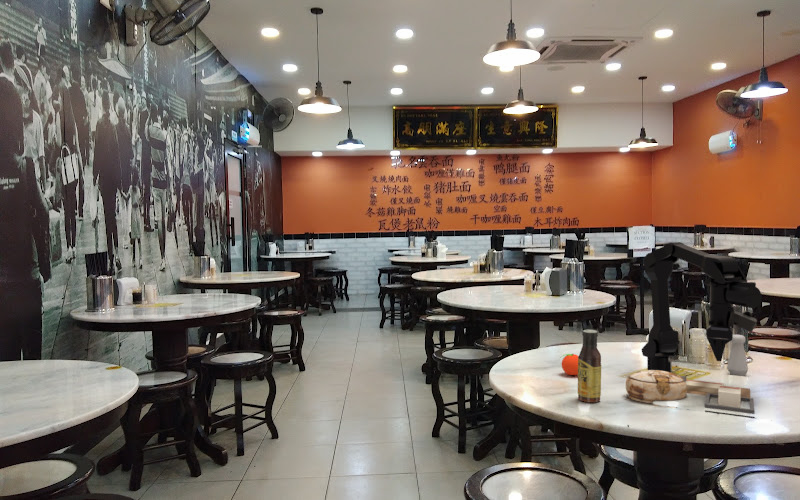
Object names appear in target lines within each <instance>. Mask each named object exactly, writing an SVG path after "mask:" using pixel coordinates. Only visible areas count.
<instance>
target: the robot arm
mask: <svg viewBox="0 0 800 500" xmlns="http://www.w3.org/2000/svg"><path fill="white" fill-rule="evenodd" d="M680 260H681V261H684V262H686V263H689V264H691V265H694V266H696V267H698V268H699V269H701V271H702V273H703V274H705V275H707V276H708V277H709V278H708V279H706V280H705V281H704V282H703V284H704V285H707V286H710V288H709V306H708V310H709V316H708V317H709V320H708V326H707V327H706V330H705V337H706V340H707V341H708V343H709V346H710V348H711V351H712V353H713V354H714V355H713V356H714V357H715V359H716V361H717V362H722V361H723V360H722V359H723V357H724V353H725V349H726V345H727V344H728V343H731V342H730V341H732V339H733V335H734V328H735V326H736V327H739V328H742V329H744V330H745V331H747V332H751V333H753V331H754V329H755V326H756V325H757V322H758V320H757V318H755V317H753V313H752V312H751V311H749V310H745V311H743V312H739V311H736V310H735V306H739V307H743V308H747V309H748V308H749V309H756V308H757V307H758V306H760V304H761V303H762V300H763V299H762V298H763V295H762V293H761V290H760V289H759V287H757V284H756V282H755V281H748V279H747V278H746V276H745V275H744V273H743V270H742V269H741V267H740V266H739V264H738V260H737V259H736V258H734V257H732V256H727V255H726V256H724V255H716V254H710V253H707V252H705V251H703V250H700V249H697V248H694V247H692V246H689V245H686V244H685V243H683V242H680V241H675V242H674V241H672V242H668V243H665V245H663V246H662V247H658V248H657V249H655V250H652V251H651V252H649V253H647V254H646V255H645V256H644V258H643V266H644V267H643V268H644V272H645V274H646V276H647V277H648V278H649V279H650V290H651V292H650V293H651V306H652V324H653V325H652V326H651V329H650V330H649V333H648V338H647V339H648V340H647V342H646V343H645V344H644V346H643V347H642V348H641V353H642V356H643V357H646V359H647V360H646V361H647V367H646V368H647V369H646V370H660V371H667V372H671V373H673V372H672V370H673V369H672V365H673V362H672V360H670V357H675V355H676V351H677V349H678V346H679V344H680V341H679V332H678V330H674V328H673V327H672V325H671V313H670V311H671V309H670V295H669V280H670V279H669V278H670V276H671V275H672V273H673V272H674V271H673V270H674V269H673V267H674V264H676V263H677V262H678V261H680Z"/></svg>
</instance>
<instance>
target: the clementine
mask: <svg viewBox="0 0 800 500" xmlns="http://www.w3.org/2000/svg"><path fill="white" fill-rule="evenodd" d="M562 357H563V359H562V361H561V368H562V370H563V372H564V373H565V374H567V376H568V375H569V376H571V375H575V376H578V357H579V355H578V354H576V353H575V354H574V353H567V354H563V355H561V356H560V358H559V359H561V358H562ZM558 361H560V360H558Z"/></svg>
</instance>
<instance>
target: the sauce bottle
mask: <svg viewBox="0 0 800 500" xmlns="http://www.w3.org/2000/svg"><path fill="white" fill-rule="evenodd" d="M598 336H599V332H598V331H597V330H595V329H584V330H582V347H581V348H580V352H579V355H578V356H579V357H578V375H577V398H578V400H579V401H581V402H583V401H584V403H590V404H591V403H592V404H593V403H599V402H600V401H601V395H602V355H601V353H600V351H599V350H598Z"/></svg>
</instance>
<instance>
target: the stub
mask: <svg viewBox="0 0 800 500" xmlns="http://www.w3.org/2000/svg"><path fill="white" fill-rule="evenodd" d="M727 386H728V385H724V386H719V390H718V398H717V399H718V400H717V401H718V402H717V405H722V406H730V407H738V408H741V402H742V401H741V388H742V387H739V388H736V387H737V386H730V387H727Z"/></svg>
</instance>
